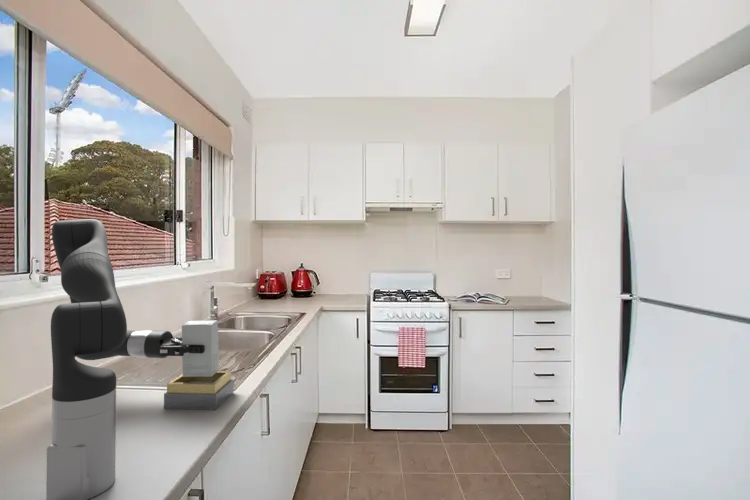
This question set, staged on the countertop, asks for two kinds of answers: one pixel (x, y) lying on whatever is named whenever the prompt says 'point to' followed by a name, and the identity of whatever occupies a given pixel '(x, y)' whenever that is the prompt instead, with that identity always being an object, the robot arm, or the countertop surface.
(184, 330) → the skincare box
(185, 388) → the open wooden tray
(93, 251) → the robot arm
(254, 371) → the countertop surface
